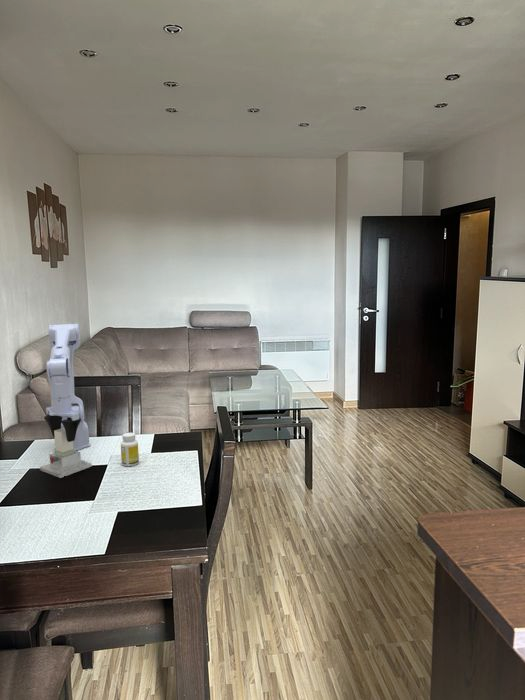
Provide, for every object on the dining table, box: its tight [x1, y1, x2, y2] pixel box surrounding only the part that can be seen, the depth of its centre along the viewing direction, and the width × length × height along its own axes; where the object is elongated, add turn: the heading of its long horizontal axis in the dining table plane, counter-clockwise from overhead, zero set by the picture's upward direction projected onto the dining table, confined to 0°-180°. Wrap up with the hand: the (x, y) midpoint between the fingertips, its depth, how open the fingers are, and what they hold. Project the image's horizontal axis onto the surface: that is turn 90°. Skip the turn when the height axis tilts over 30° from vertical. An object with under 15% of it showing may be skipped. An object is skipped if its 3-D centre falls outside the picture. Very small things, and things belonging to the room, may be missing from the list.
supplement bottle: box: [120, 432, 140, 467], centre depth 159 cm, size 5×5×10 cm
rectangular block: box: [54, 428, 74, 457], centre depth 155 cm, size 4×4×8 cm
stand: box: [39, 450, 92, 479], centre depth 156 cm, size 11×11×5 cm
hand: (64, 438), depth 155 cm, fingers open, 7 cm apart
